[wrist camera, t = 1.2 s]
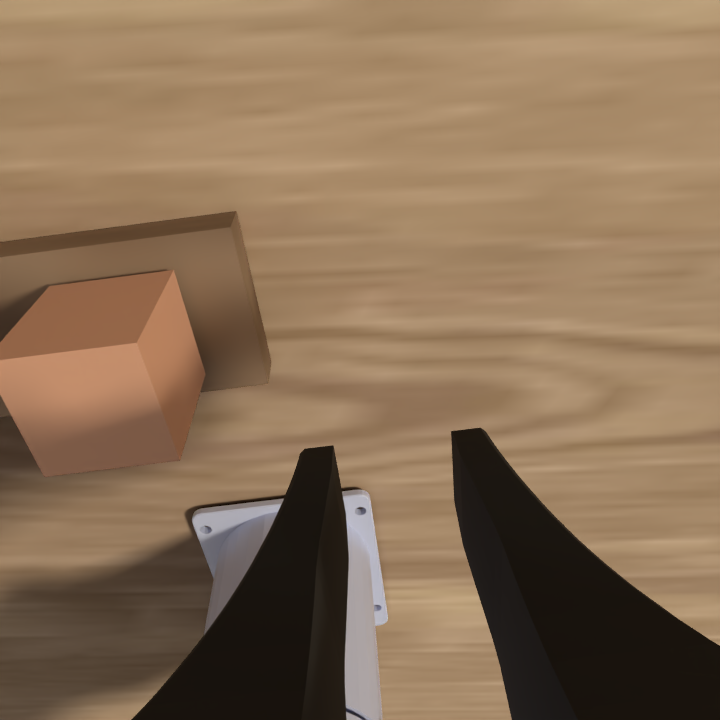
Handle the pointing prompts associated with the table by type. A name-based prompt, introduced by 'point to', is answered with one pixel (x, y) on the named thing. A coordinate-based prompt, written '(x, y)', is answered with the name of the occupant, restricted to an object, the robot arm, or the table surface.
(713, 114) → the table surface
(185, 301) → the track
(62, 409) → the slider
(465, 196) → the table surface
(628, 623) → the robot arm
